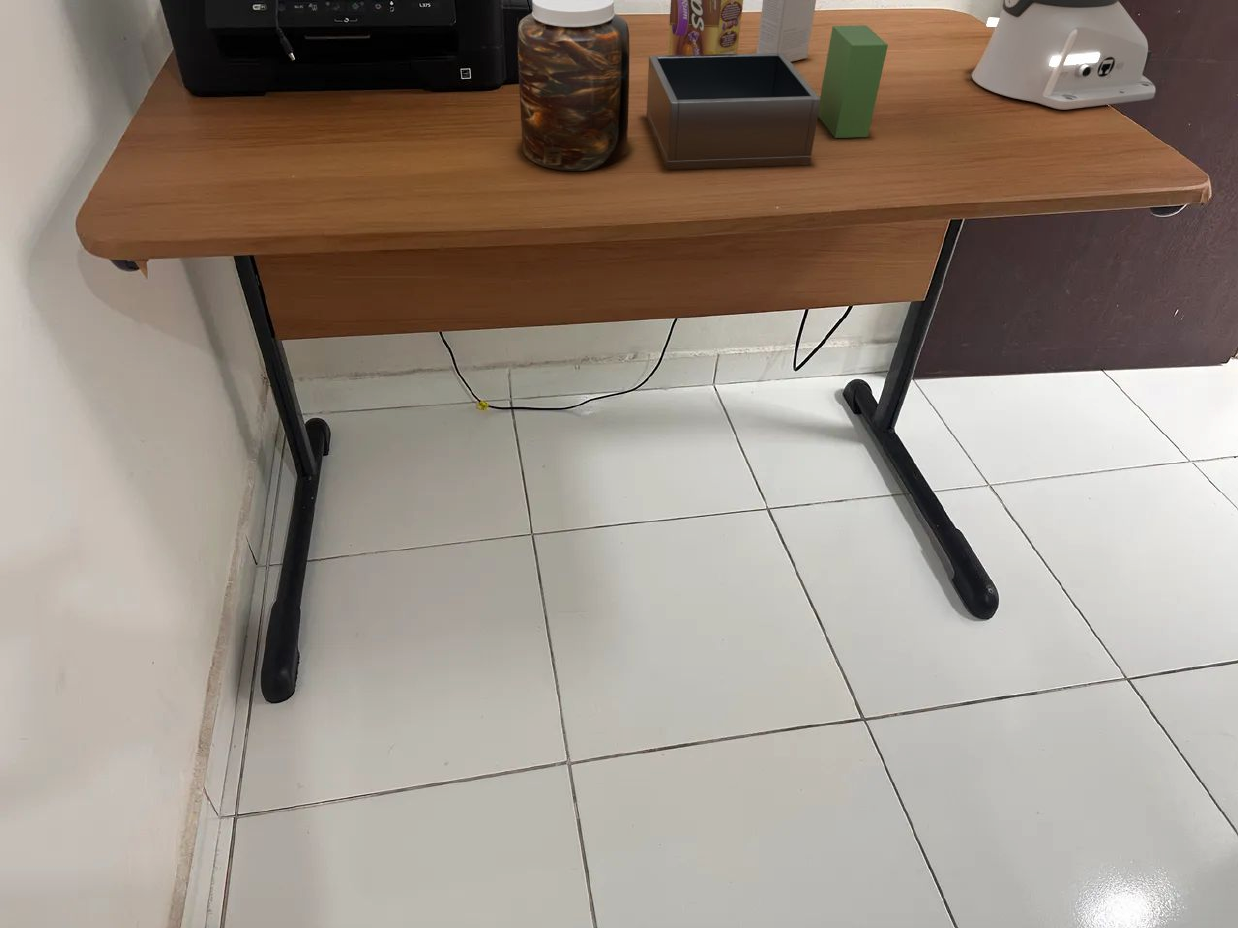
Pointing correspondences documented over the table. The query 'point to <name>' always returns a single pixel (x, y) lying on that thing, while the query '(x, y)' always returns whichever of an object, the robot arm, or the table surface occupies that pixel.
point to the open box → (730, 111)
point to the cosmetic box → (786, 27)
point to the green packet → (851, 80)
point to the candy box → (704, 27)
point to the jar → (574, 84)
